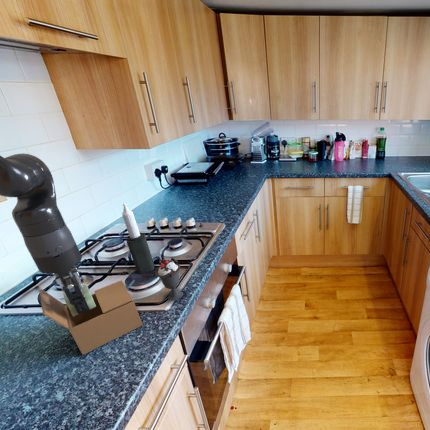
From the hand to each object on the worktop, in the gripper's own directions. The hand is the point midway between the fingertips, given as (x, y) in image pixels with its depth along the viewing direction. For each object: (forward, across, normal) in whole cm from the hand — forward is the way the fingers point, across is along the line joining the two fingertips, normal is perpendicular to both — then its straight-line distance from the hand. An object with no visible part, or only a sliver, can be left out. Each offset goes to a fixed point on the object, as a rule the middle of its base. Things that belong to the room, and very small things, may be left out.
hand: (82, 306), depth 70 cm
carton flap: (-2, 0, -4) cm, 5 cm away
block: (0, 0, 0) cm, 0 cm away
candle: (+10, -22, +18) cm, 30 cm away
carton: (+10, 0, +3) cm, 10 cm away
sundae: (+10, 0, +20) cm, 22 cm away
